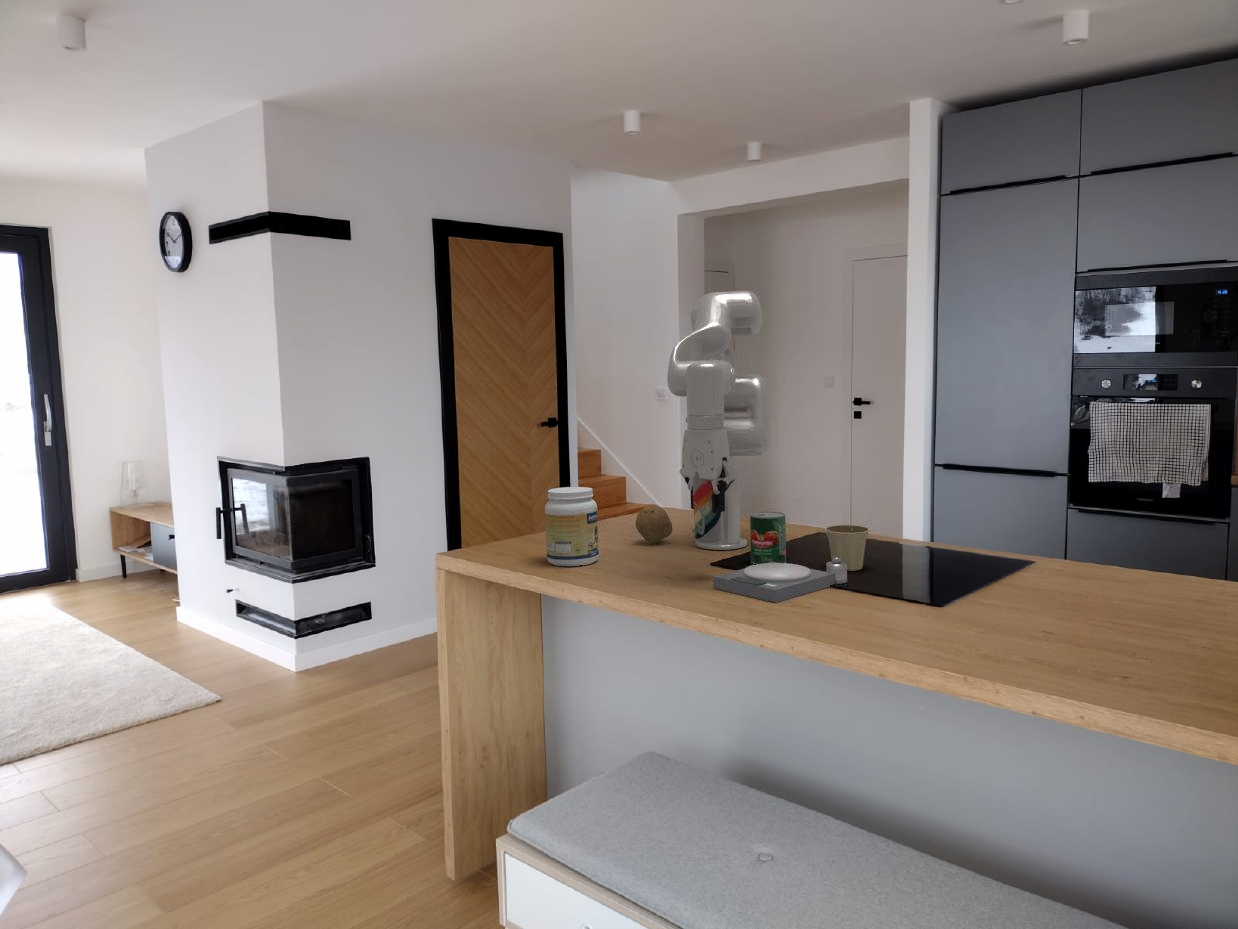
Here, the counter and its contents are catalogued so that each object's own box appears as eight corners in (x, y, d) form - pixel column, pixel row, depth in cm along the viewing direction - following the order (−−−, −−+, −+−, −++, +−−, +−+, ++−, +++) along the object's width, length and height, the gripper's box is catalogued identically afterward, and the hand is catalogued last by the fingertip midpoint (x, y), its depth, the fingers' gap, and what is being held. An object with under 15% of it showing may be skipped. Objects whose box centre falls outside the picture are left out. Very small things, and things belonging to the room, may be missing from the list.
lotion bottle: (690, 542, 183) (687, 446, 180) (701, 536, 188) (697, 443, 185) (716, 544, 180) (713, 447, 177) (726, 538, 185) (723, 443, 182)
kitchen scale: (713, 588, 176) (712, 572, 175) (772, 572, 187) (771, 558, 187) (775, 602, 164) (775, 586, 163) (834, 585, 175) (834, 569, 175)
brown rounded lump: (631, 541, 226) (629, 503, 225) (663, 538, 229) (662, 500, 228) (642, 548, 218) (641, 508, 216) (676, 544, 220) (675, 505, 219)
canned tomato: (784, 558, 200) (784, 510, 199) (787, 566, 193) (787, 516, 192) (749, 559, 201) (748, 511, 200) (751, 566, 194) (750, 517, 192)
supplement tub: (598, 567, 198) (595, 492, 196) (544, 568, 199) (541, 493, 197) (600, 555, 210) (597, 484, 209) (549, 556, 211) (546, 486, 209)
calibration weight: (822, 583, 177) (822, 557, 177) (834, 579, 180) (834, 554, 179) (838, 586, 174) (838, 560, 174) (851, 582, 177) (850, 557, 176)
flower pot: (859, 575, 183) (859, 534, 182) (817, 570, 188) (817, 530, 187) (876, 566, 190) (876, 526, 189) (835, 561, 196) (835, 523, 195)
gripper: (663, 422, 184) (666, 508, 187) (723, 427, 171) (725, 518, 174) (689, 419, 189) (691, 502, 192) (749, 423, 176) (751, 512, 179)
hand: (707, 509), depth 183 cm, fingers closed on lotion bottle, 5 cm apart
